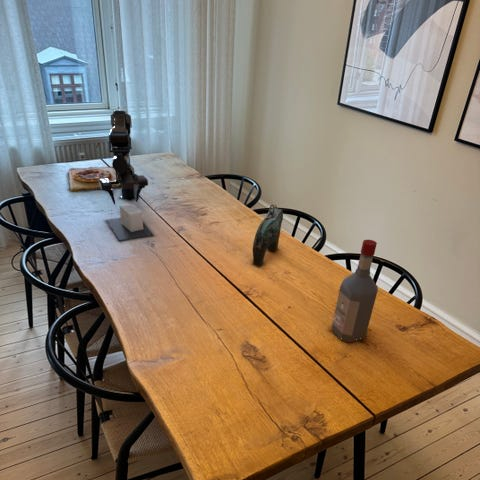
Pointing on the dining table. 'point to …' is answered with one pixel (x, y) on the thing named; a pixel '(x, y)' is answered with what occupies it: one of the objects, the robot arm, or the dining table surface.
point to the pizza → (89, 178)
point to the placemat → (126, 234)
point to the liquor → (356, 299)
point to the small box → (131, 217)
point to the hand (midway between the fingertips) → (125, 203)
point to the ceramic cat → (267, 235)
